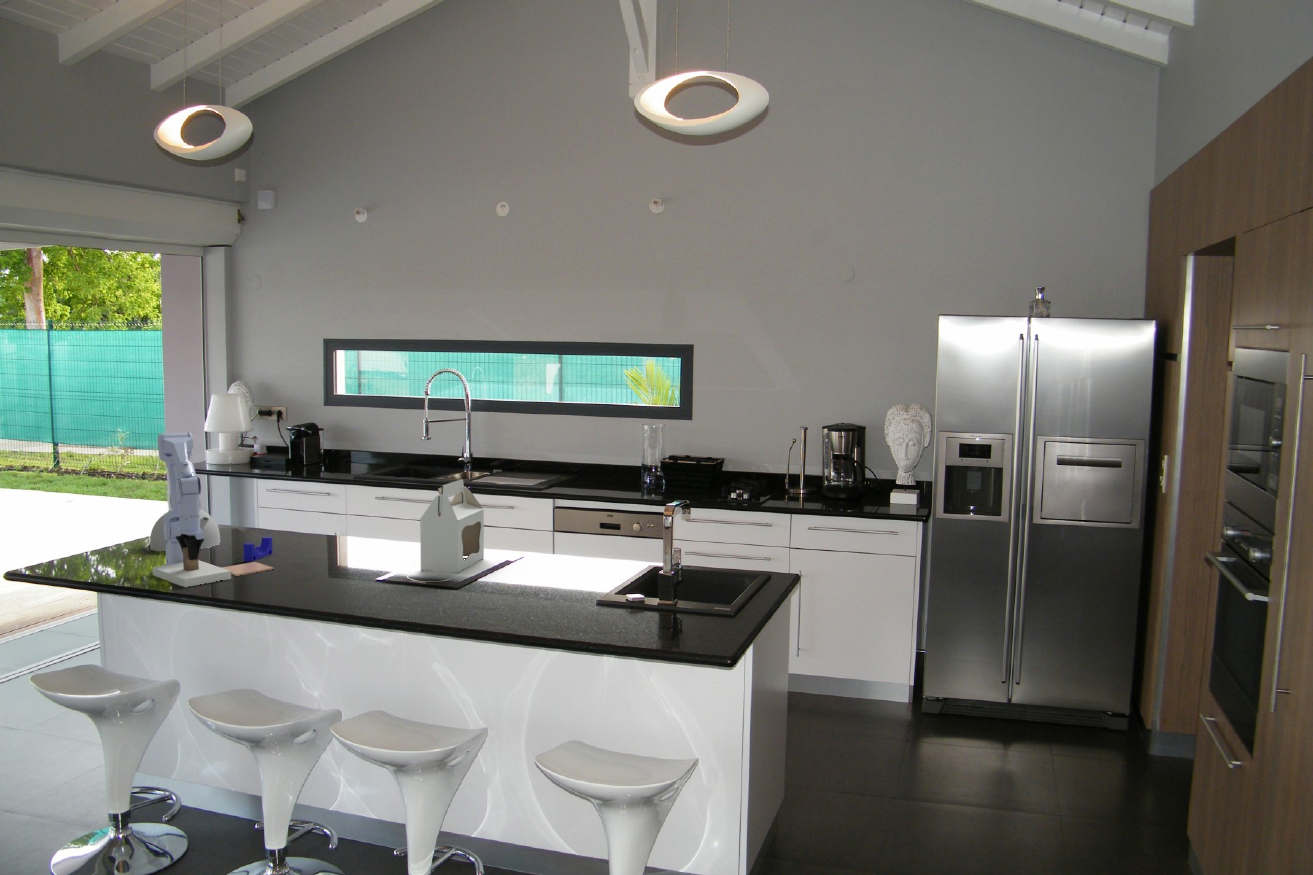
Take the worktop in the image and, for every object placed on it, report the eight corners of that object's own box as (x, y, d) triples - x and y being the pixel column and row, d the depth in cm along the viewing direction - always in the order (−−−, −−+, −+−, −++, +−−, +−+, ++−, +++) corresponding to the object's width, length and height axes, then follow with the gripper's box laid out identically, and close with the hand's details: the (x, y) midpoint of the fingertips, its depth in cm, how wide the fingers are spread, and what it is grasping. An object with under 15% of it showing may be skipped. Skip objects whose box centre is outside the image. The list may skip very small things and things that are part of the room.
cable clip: (260, 553, 324) (260, 536, 323) (272, 554, 323) (272, 537, 323) (239, 561, 312) (239, 543, 312) (252, 562, 311) (251, 544, 311)
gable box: (448, 556, 325) (448, 476, 322) (484, 558, 322) (484, 478, 319) (420, 570, 303) (419, 485, 300) (457, 573, 300) (457, 487, 298)
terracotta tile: (219, 569, 299) (218, 567, 299) (254, 563, 309) (254, 561, 308) (237, 576, 292) (237, 574, 292) (273, 569, 301) (273, 567, 301)
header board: (152, 575, 291) (152, 567, 291) (198, 567, 302) (197, 559, 302) (184, 587, 277) (184, 579, 277) (231, 578, 288) (230, 570, 288)
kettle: (237, 544, 337) (236, 483, 335) (177, 556, 318) (175, 490, 316) (196, 536, 350) (195, 477, 348) (136, 546, 331) (134, 484, 329)
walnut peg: (183, 569, 289) (182, 547, 289) (193, 567, 292) (193, 545, 291) (188, 571, 287) (187, 549, 287) (198, 569, 290) (198, 547, 289)
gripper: (165, 514, 289) (167, 557, 291) (187, 520, 280) (188, 564, 282) (188, 511, 295) (190, 553, 296) (210, 517, 286) (211, 560, 287)
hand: (190, 558), depth 289 cm, fingers closed on walnut peg, 3 cm apart
